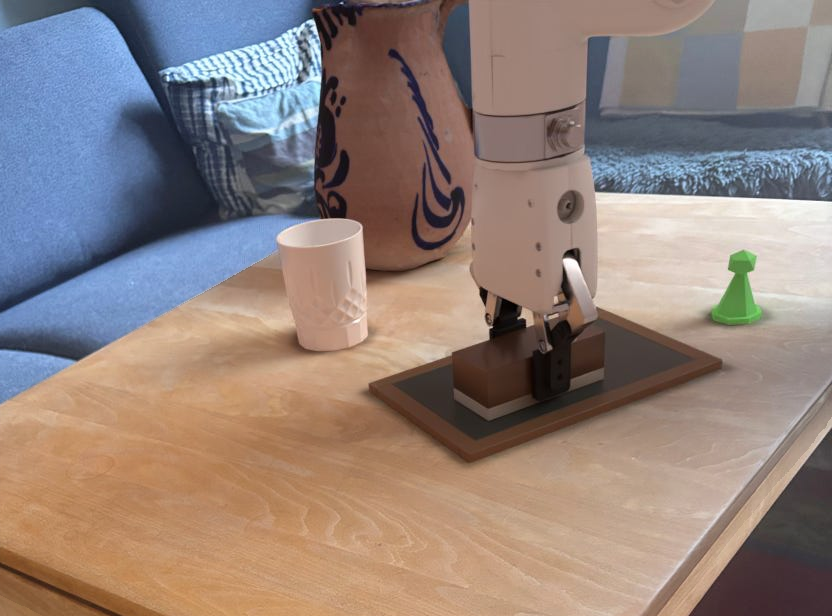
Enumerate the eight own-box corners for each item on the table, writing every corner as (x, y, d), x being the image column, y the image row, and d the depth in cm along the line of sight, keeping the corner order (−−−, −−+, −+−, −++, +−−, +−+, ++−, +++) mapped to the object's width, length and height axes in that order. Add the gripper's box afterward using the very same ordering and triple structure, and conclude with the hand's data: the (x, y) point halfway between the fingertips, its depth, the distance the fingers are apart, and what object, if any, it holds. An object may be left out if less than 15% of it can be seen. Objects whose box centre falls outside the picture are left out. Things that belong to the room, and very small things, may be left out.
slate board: (596, 316, 90) (596, 306, 89) (721, 371, 78) (723, 359, 78) (369, 393, 83) (367, 382, 83) (470, 466, 72) (469, 454, 71)
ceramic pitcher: (309, 253, 115) (273, 3, 99) (477, 217, 118) (467, -31, 102) (347, 299, 101) (312, 18, 86) (535, 257, 104) (535, -21, 88)
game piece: (753, 330, 84) (763, 260, 80) (702, 325, 86) (710, 256, 82) (767, 312, 86) (778, 242, 82) (718, 307, 88) (726, 239, 85)
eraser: (565, 360, 81) (566, 313, 79) (604, 379, 78) (606, 331, 75) (453, 399, 78) (451, 352, 76) (488, 421, 74) (486, 372, 72)
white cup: (327, 363, 89) (310, 252, 83) (277, 343, 94) (258, 238, 88) (391, 334, 93) (380, 226, 86) (339, 317, 98) (326, 213, 91)
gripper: (657, 139, 61) (638, 405, 72) (503, 107, 73) (507, 338, 85) (559, 166, 59) (555, 436, 70) (418, 128, 71) (434, 363, 83)
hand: (529, 380), depth 77 cm, fingers closed on eraser, 5 cm apart
